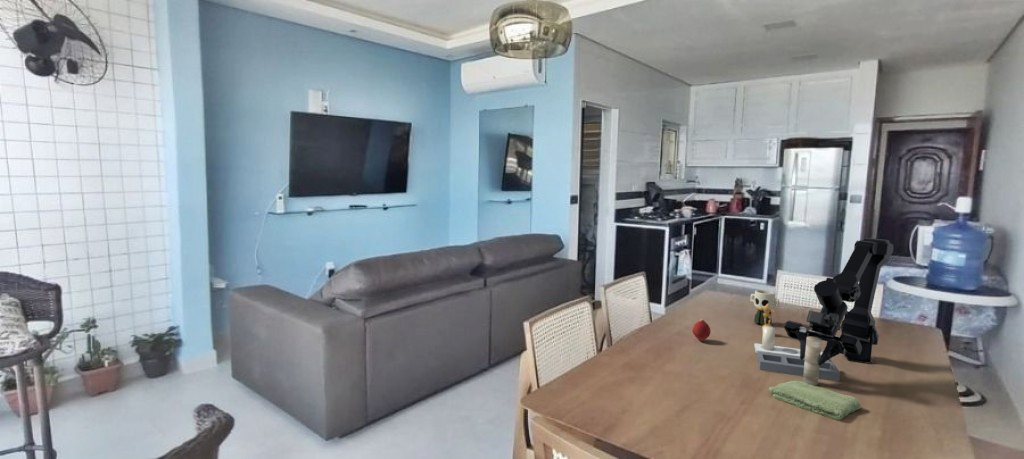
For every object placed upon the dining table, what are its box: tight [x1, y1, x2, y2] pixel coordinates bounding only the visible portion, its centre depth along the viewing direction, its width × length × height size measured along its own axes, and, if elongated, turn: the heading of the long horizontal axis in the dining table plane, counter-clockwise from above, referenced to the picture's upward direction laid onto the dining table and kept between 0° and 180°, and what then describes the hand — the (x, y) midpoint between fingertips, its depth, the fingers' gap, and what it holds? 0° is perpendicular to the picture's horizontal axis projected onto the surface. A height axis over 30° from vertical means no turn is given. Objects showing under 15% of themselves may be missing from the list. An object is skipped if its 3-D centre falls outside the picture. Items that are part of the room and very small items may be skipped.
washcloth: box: [768, 380, 862, 421], centre depth 127 cm, size 13×18×3 cm
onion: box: [692, 318, 711, 342], centre depth 172 cm, size 6×6×8 cm
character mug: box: [749, 289, 780, 326], centre depth 193 cm, size 11×7×13 cm, turn 39°
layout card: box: [753, 326, 830, 361], centre depth 161 cm, size 20×8×8 cm, turn 68°
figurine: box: [754, 304, 780, 333], centre depth 180 cm, size 8×6×12 cm
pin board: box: [756, 352, 841, 382], centre depth 148 cm, size 20×9×2 cm, turn 68°
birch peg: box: [802, 336, 823, 387], centre depth 138 cm, size 4×4×13 cm
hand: (809, 361), depth 137 cm, fingers open, 4 cm apart
